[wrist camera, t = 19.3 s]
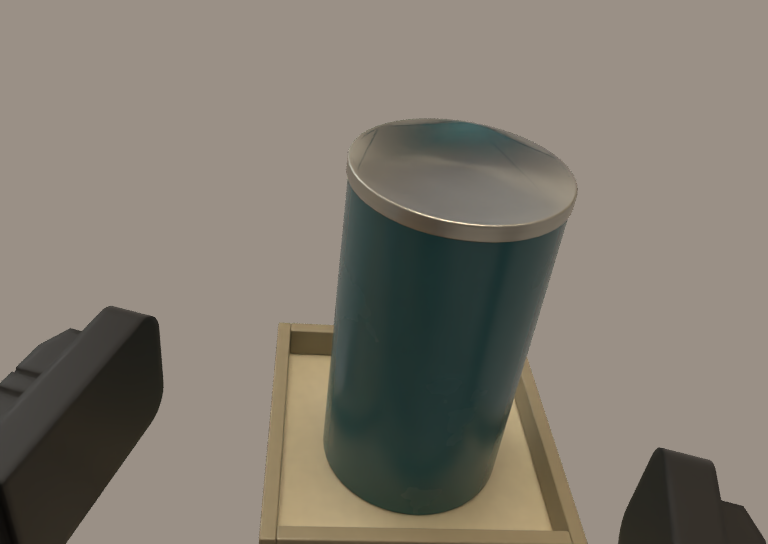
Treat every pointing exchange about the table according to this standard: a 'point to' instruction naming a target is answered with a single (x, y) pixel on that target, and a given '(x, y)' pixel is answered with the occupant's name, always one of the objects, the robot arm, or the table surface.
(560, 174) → the tin
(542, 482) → the rack
